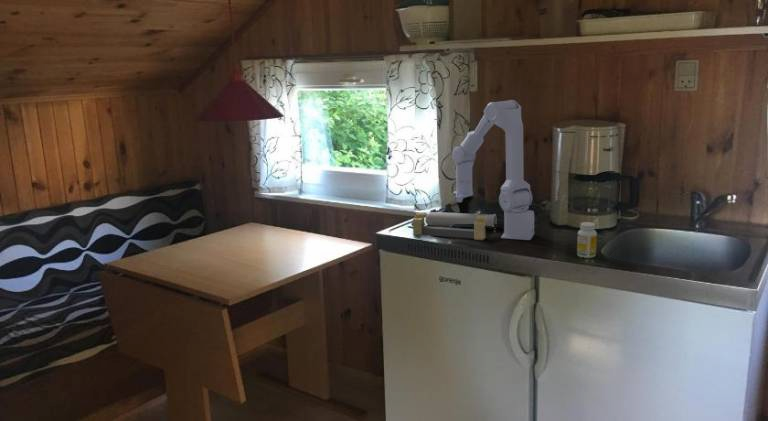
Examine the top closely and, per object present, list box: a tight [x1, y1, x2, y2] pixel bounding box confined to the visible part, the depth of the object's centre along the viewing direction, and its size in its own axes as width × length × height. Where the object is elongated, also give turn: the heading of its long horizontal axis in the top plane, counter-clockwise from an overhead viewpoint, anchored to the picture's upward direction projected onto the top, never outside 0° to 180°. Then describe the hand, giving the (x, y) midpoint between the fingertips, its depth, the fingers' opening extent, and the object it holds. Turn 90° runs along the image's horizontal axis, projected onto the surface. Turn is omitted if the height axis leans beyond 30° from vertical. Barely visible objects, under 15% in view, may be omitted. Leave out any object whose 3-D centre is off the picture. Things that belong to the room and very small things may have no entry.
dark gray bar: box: [422, 225, 474, 240], centre depth 212 cm, size 24×2×2 cm, turn 67°
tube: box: [424, 211, 498, 228], centre depth 222 cm, size 5×5×25 cm
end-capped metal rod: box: [412, 211, 487, 241], centre depth 212 cm, size 24×6×6 cm, turn 67°
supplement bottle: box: [576, 221, 598, 259], centre depth 186 cm, size 5×5×10 cm
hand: (464, 217), depth 229 cm, fingers closed
